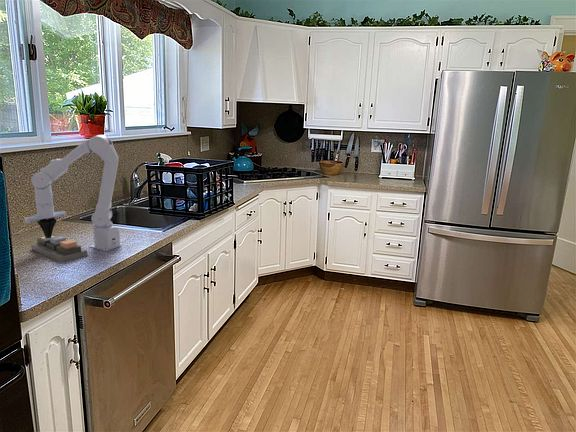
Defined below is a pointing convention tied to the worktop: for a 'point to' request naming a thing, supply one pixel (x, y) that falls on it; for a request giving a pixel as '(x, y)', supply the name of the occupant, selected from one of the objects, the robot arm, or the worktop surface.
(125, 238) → the worktop surface
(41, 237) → the off-white key
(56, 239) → the slate blue key
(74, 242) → the terracotta key
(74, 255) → the key panel
